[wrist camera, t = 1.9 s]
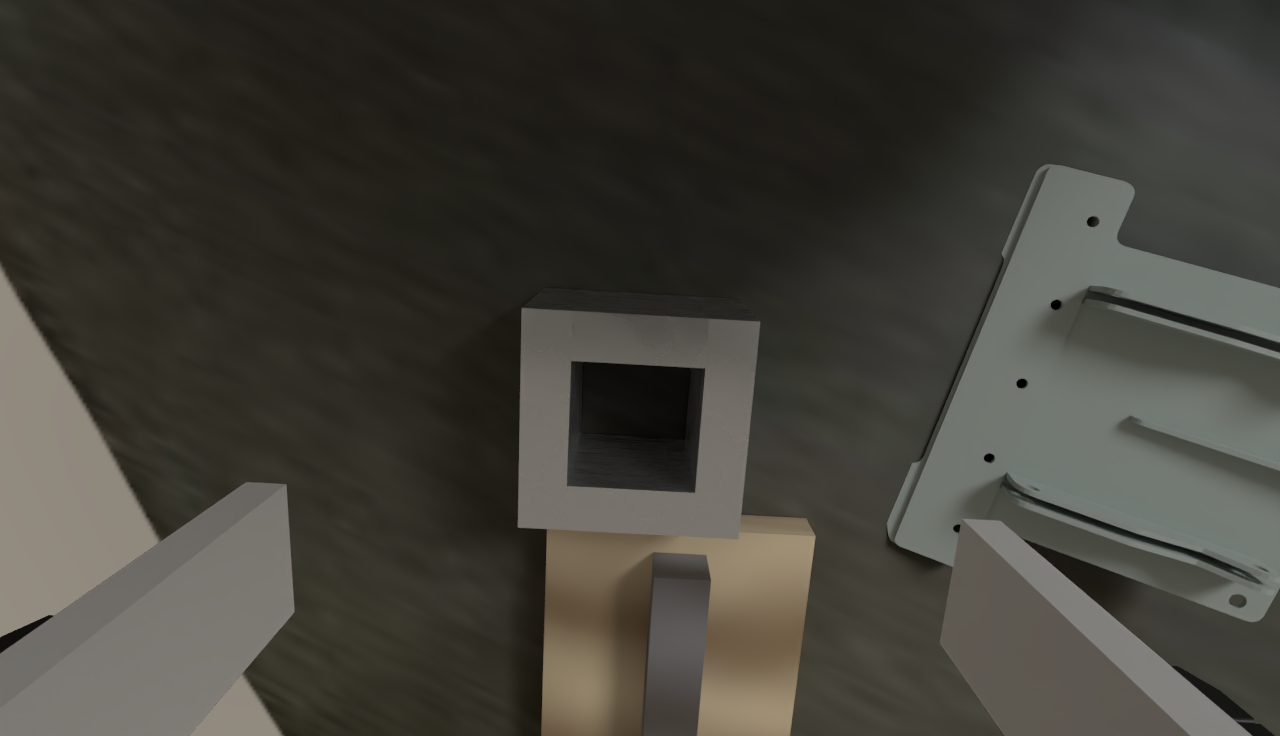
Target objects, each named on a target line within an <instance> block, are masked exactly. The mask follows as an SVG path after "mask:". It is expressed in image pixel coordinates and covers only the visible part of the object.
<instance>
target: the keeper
mask: <svg viewBox="0 0 1280 736" xmlns="http://www.w3.org/2000/svg"><path fill="white" fill-rule="evenodd" d="M814 544H815V534H814V533H813V531H812V529H811V527H810V525H809V523H808V521H807V519H806V518H792V517H774V516H755V515H741V521H740V531H739V539H722V538H703V537H684V536H666V535H647V534H628V533H610V532H591V531H573V530H554V529H547V549H546V585H545V620H544V656H543V692H542V727H541V736H790V730H791V722H792V714H793V707H794V699H795V691H796V683H797V676H798V668H799V660H800V652H801V645H802V637H803V629H804V621H805V614H806V606H807V598H808V590H809V583H810V575H811V567H812V559H813V552H814Z"/></svg>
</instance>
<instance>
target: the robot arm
mask: <svg viewBox="0 0 1280 736" xmlns="http://www.w3.org/2000/svg"><path fill="white" fill-rule="evenodd" d="M293 613H294V596H293V581H292V565H291V550H290V534H289V518H288V503H287V487H286V484H273V483H253V482H246V483H244V484H243V485H241V486H240V487H238V488H237V489H236V490H234V491H233V492H231V493H230V494H228V495H227V496H226V497H224V498H223V499H221V500H220V501H218V502H217V503H216V504H214V505H213V506H211V507H210V508H208V509H207V510H205V511H204V512H203V513H201V514H200V515H198V516H197V517H195V518H194V519H193V520H191V521H190V522H188V523H187V524H185V525H184V526H183V527H181V528H180V529H178V530H177V531H175V532H174V533H172V534H171V535H170V536H168V537H167V538H165V539H164V540H162V541H161V542H160V543H158V544H157V545H155V546H154V547H153V548H151V549H150V550H148V551H147V552H145V553H144V554H142V555H141V556H139V557H138V558H137V559H135V560H134V561H132V562H131V563H129V564H128V565H127V566H125V567H124V568H122V569H121V570H120V571H118V572H117V573H115V574H114V575H112V576H111V577H109V578H108V579H106V580H105V581H104V582H102V583H101V584H99V585H98V586H96V587H95V588H94V589H92V590H91V591H89V592H88V593H86V594H85V595H83V596H82V597H81V598H79V599H78V600H76V601H75V602H73V603H72V604H71V605H69V606H68V607H66V608H65V609H63V610H62V611H61V612H59V613H58V614H56V615H55V616H52V615H48V616H46V617H44V618H42V619H40V620H37V621H35V622H33V623H31V624H29V625H26V626H24V627H22V628H20V629H17V630H15V631H13V632H11V633H8V634H6V635H4V636H2V637H1V638H0V736H189V735H190V734H191V733H192V732H193V731H194V730H195V728H196V727H197V726H198V725H199V724H200V722H201V721H202V720H203V719H204V718H205V716H206V715H207V714H208V713H209V712H210V711H211V709H212V708H213V707H214V706H215V705H216V704H217V702H218V701H219V700H220V699H221V698H222V696H223V695H224V694H225V693H226V692H227V691H228V689H229V688H230V687H231V686H232V684H233V683H235V681H236V680H237V679H238V678H239V677H240V675H241V674H242V673H243V672H244V671H245V670H246V668H247V667H248V666H249V665H250V664H251V663H252V661H253V660H254V659H255V658H256V657H257V655H258V654H259V653H260V652H261V651H262V650H263V648H264V647H265V646H266V645H267V644H268V643H269V641H270V640H271V639H272V638H273V637H274V636H275V634H276V633H277V632H278V631H279V630H280V628H281V627H282V626H283V625H284V624H285V623H286V621H287V620H288V619H289V618H290V617H291V616H292V614H293ZM940 644H941V645H942V647H943V648H944V650H945V651H946V653H947V654H948V655H949V657H950V658H951V660H952V661H953V663H954V664H955V665H956V667H957V668H958V670H959V671H960V673H961V674H962V675H963V677H964V678H965V680H966V681H967V683H968V684H969V685H970V687H971V688H972V690H973V691H974V693H975V694H976V695H977V697H978V698H979V700H980V701H981V703H982V704H983V705H984V707H985V708H986V710H987V711H988V713H989V714H990V715H991V717H992V718H993V720H994V721H995V723H996V724H997V725H998V727H999V728H1000V730H1001V731H1002V733H1003V734H1004V735H1005V736H1274V735H1273V734H1272V733H1271V732H1269V731H1268V730H1267V729H1266V728H1265V727H1263V726H1262V725H1261V724H1255V723H1254V718H1252V717H1251V716H1250V715H1249V714H1248V713H1246V712H1245V711H1244V710H1243V709H1242V708H1240V707H1239V706H1238V705H1237V704H1235V703H1234V702H1233V701H1232V700H1231V699H1229V698H1228V697H1227V696H1226V695H1225V694H1223V693H1222V692H1221V691H1220V690H1218V689H1216V688H1214V687H1213V686H1211V685H1209V684H1207V683H1206V682H1204V681H1202V680H1201V679H1199V678H1197V677H1195V676H1194V675H1192V674H1190V673H1188V672H1187V671H1185V670H1183V669H1181V668H1180V667H1178V666H1170V665H1169V664H1168V663H1166V662H1165V661H1164V660H1163V659H1162V658H1161V657H1159V656H1158V655H1157V654H1156V653H1155V652H1154V651H1152V650H1151V649H1150V648H1149V647H1148V646H1147V645H1145V644H1144V643H1143V642H1142V641H1141V640H1140V639H1138V638H1137V637H1136V636H1135V635H1134V634H1132V633H1131V632H1130V631H1129V630H1128V629H1127V628H1125V627H1124V626H1123V625H1122V624H1121V623H1120V622H1118V621H1117V620H1116V619H1115V618H1114V617H1113V616H1111V615H1110V614H1109V613H1108V612H1107V611H1106V610H1104V609H1103V608H1102V607H1101V606H1100V605H1099V604H1097V603H1096V602H1095V601H1094V600H1093V599H1091V598H1090V597H1089V596H1088V595H1087V594H1086V593H1084V592H1083V591H1082V590H1081V589H1080V588H1079V587H1077V586H1076V585H1075V584H1074V583H1073V582H1072V581H1070V580H1069V579H1068V578H1067V577H1066V576H1065V575H1063V574H1062V573H1061V572H1060V571H1059V570H1058V569H1056V568H1055V567H1054V566H1053V565H1052V564H1051V563H1049V562H1048V561H1047V560H1046V559H1045V558H1043V557H1042V556H1041V555H1040V554H1039V553H1038V552H1036V551H1035V550H1034V549H1033V548H1032V547H1031V546H1029V545H1028V544H1027V543H1026V542H1025V541H1024V540H1022V539H1021V538H1020V537H1019V536H1018V535H1017V534H1015V533H1014V532H1013V531H1012V530H1011V529H1010V528H1008V527H1007V526H1006V525H1005V524H1004V523H1002V522H1001V521H997V520H977V519H962V520H961V525H960V531H959V537H958V542H957V548H956V554H955V559H954V565H953V571H952V576H951V582H950V587H949V593H948V599H947V604H946V610H945V616H944V621H943V627H942V633H941V638H940Z"/></svg>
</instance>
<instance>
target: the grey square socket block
mask: <svg viewBox="0 0 1280 736" xmlns="http://www.w3.org/2000/svg"><path fill="white" fill-rule="evenodd" d="M759 331H760V321H759V320H758V319H757V318H756V317H755V316H754V315H753V314H752V313H751V312H750V311H749V310H748V309H747V308H746V307H745V306H744V305H743V304H742V303H741V302H740V301H739V300H738V299H733V298H716V297H698V296H681V295H664V294H647V293H629V292H612V291H595V290H577V289H560V288H544V289H543V290H542V291H541V292H539V293H538V294H537V295H536V296H535V297H534V298H533V299H531V300H530V301H529V302H528V303H527V304H526V305H524V306H523V307H522V314H521V372H520V430H519V489H518V528H535V529H554V530H573V531H591V532H610V533H628V534H647V535H666V536H684V537H703V538H722V539H739V531H740V521H741V511H742V501H743V491H744V481H745V471H746V461H747V451H748V441H749V431H750V421H751V411H752V401H753V391H754V381H755V371H756V361H757V351H758V341H759ZM584 362H600V363H618V364H635V365H653V366H671V367H688V368H690V381H689V394H688V407H687V420H686V433H685V439H672V438H654V437H636V436H618V435H600V434H582V433H581V414H582V388H583V363H584Z"/></svg>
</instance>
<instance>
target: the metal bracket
mask: <svg viewBox="0 0 1280 736" xmlns="http://www.w3.org/2000/svg"><path fill="white" fill-rule="evenodd" d="M1134 193H1135V191H1134V188H1133V187H1132V186H1131V185H1130V184H1129V183H1127V182H1125V181H1121V180H1117V179H1113V178H1109V177H1105V176H1101V175H1097V174H1093V173H1089V172H1085V171H1081V170H1077V169H1073V168H1069V167H1065V166H1061V165H1053V164H1047V165H1043V166H1042V167H1040V168H1039V169H1038V170H1037V171H1036V174H1035V176H1034V178H1033V181H1032V183H1031V185H1030V188H1029V190H1028V192H1027V195H1026V197H1025V200H1024V202H1023V204H1022V207H1021V209H1020V211H1019V214H1018V216H1017V218H1016V221H1015V223H1014V225H1013V228H1012V230H1011V233H1010V235H1009V237H1008V240H1007V242H1006V244H1005V247H1004V249H1003V251H1002V256H1003V258H1004V262H1003V266H1002V268H1001V271H1000V273H999V276H998V278H997V280H996V283H995V285H994V288H993V290H992V292H991V295H990V297H989V300H988V302H987V305H986V307H985V309H984V312H983V314H982V317H981V319H980V321H979V324H978V326H977V329H976V331H975V333H974V336H973V338H972V341H971V343H970V345H969V348H968V350H967V353H966V355H965V358H964V360H963V362H962V365H961V367H960V370H959V372H958V374H957V377H956V379H955V382H954V384H953V386H952V389H951V391H950V394H949V396H948V398H947V401H946V403H945V406H944V408H943V411H942V413H941V415H940V418H939V420H938V423H937V425H936V427H935V430H934V432H933V435H932V437H931V439H930V442H929V444H928V447H927V449H926V451H925V454H924V456H923V458H922V459H921V460H920V461H918V462H916V463H912V465H911V468H910V470H909V473H908V475H907V477H906V480H905V482H904V484H903V487H902V489H901V491H900V494H899V496H898V498H897V501H896V503H895V505H894V508H893V510H892V513H891V515H890V517H889V520H888V522H887V529H888V536H889V539H890V540H891V541H892V542H894V543H896V544H897V545H899V546H900V547H903V548H905V549H908V550H910V551H913V552H916V553H918V554H921V555H923V556H926V557H929V558H931V559H934V560H936V561H939V562H942V563H944V564H947V565H949V566H952V567H953V565H954V559H955V554H956V548H957V542H958V537H959V532H955V531H954V530H953V527H954V526H955V525H957V524H959V525H961V520H962V519H977V520H997V521H1001V522H1002V523H1004V524H1005V525H1006V526H1007V527H1008V528H1010V529H1011V530H1012V531H1013V532H1014V533H1015V534H1017V535H1018V536H1019V537H1020V538H1022V539H1025V540H1028V541H1031V542H1033V543H1036V544H1039V545H1041V546H1044V547H1047V548H1050V549H1052V550H1055V551H1058V552H1060V553H1063V554H1066V555H1069V556H1071V557H1074V558H1077V559H1079V560H1082V561H1085V562H1088V563H1090V564H1093V565H1096V566H1098V567H1101V568H1104V569H1107V570H1109V571H1112V572H1115V573H1117V574H1120V575H1123V576H1126V577H1128V578H1131V579H1134V580H1137V581H1139V582H1142V583H1145V584H1147V585H1150V586H1153V587H1156V588H1158V589H1161V590H1164V591H1166V592H1169V593H1172V594H1175V595H1177V596H1180V597H1183V598H1185V599H1188V600H1191V601H1194V602H1196V603H1199V604H1202V605H1204V606H1207V607H1210V608H1213V609H1215V610H1218V611H1221V612H1223V613H1226V614H1229V615H1232V616H1234V617H1237V618H1240V619H1242V620H1245V621H1249V622H1256V621H1259V620H1260V619H1261V618H1263V617H1264V615H1265V613H1266V611H1267V609H1268V608H1269V606H1270V604H1271V602H1272V601H1273V599H1274V597H1275V595H1276V594H1277V592H1278V590H1279V588H1280V288H1277V287H1273V286H1269V285H1266V284H1262V283H1258V282H1255V281H1251V280H1247V279H1244V278H1240V277H1236V276H1233V275H1229V274H1225V273H1221V272H1218V271H1214V270H1210V269H1207V268H1203V267H1199V266H1196V265H1192V264H1188V263H1185V262H1181V261H1177V260H1174V259H1170V258H1166V257H1163V256H1159V255H1155V254H1151V253H1148V252H1144V251H1140V250H1137V249H1133V248H1129V247H1126V246H1123V245H1121V244H1120V243H1119V242H1118V240H1117V233H1118V231H1119V229H1120V226H1121V224H1122V222H1123V220H1124V217H1125V215H1126V213H1127V211H1128V208H1129V206H1130V204H1131V202H1132V199H1133V197H1134ZM1091 216H1094V217H1095V218H1097V220H1098V222H1097V225H1096V226H1095V227H1089V226H1088V225H1087V220H1088V218H1089V217H1091ZM1054 300H1059V301H1060V302H1061V307H1060V308H1059V309H1057V310H1053V309H1052V308H1051V302H1052V301H1054ZM1019 379H1026V381H1027V384H1026V386H1025V387H1023V388H1018V387H1017V385H1016V382H1017V381H1018V380H1019ZM988 453H990V454H993V455H994V459H993V460H992V461H991V462H986V461H984V456H985V455H986V454H988ZM1235 594H1241V595H1243V597H1244V602H1243V603H1242V604H1241V605H1238V606H1233V605H1230V603H1229V598H1230V597H1231V596H1232V595H1235Z"/></svg>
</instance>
